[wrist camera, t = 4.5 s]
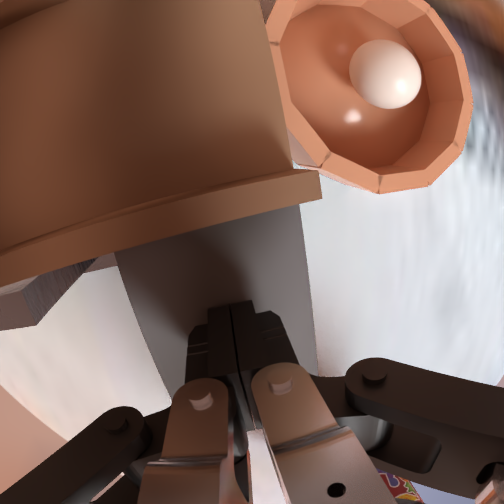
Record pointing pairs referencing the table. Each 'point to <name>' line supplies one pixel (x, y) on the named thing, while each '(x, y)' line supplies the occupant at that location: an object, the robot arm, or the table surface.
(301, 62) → the orange bowl
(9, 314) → the stand
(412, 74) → the ball
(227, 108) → the lever
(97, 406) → the table surface
